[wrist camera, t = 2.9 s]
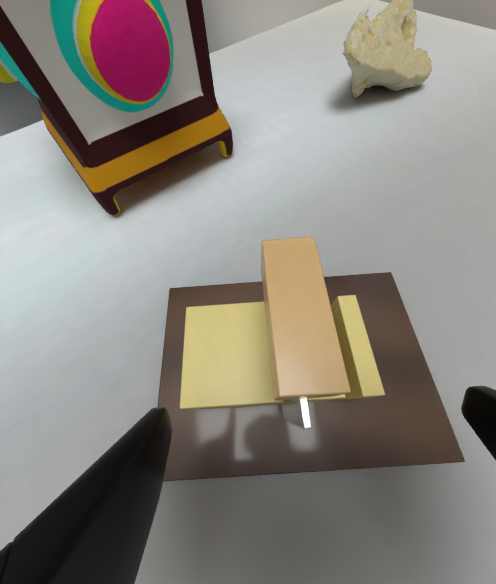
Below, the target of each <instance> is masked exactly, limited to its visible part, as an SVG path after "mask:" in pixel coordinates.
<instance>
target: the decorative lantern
mask: <svg viewBox="0 0 496 584" xmlns="http://www.w3.org/2000/svg"><path fill="white" fill-rule="evenodd" d="M208 51H209V50H208V43H207V37H206V29H205V23H204V14H203V7H202V1H201V0H0V82H4V83H11V82H14V81H17V80H19V81H20V82H21V83H22V84H23V85H24V86H25V87H26V88H27V89H28V90H29V91H30V92H31V93H33V94H34V95H35V96H36V97H37V99H38V102H39V104H40V108H41V111H42V116H43V119H44V122H45V125H46V127H47V129H48V131H49V132H50V134H51V135H52V137H53V138H54V140H55V141H56V143H57V144H58V145H59V147H60V148H61V150H62V151H63V153H64V154H65V156H66V157H67V158H68V160H69V161H70V163H71V164H72V166H73V167H74V169H75V170H76V171H77V173H78V174H79V176H80V177H81V179H82V180H83V182H84V183H85V184H86V186H87V187H88V189H89V190H90V192H91V193H92V195H93V196H94V197H95V199H96V200H97V201H98V202H99V204H100V205H101V206H102V207H103V208H104V209H105V210H106V211H107V212H108V213H109V214H111V215H114V216H116V215H119V213H120V208H119V206H118V204H117V202H116V200H115V196H114V195H115V194H116V193H117V192H118V191H119V190H121V189H123V188H125V187H127V186H129V185H131V184H133V183H135V182H137V181H139V180H141V179H143V178H145V177H147V176H149V175H151V174H153V173H155V172H157V171H159V170H161V169H163V168H165V167H167V166H169V165H171V164H173V163H175V162H177V161H179V160H181V159H183V158H185V157H187V156H189V155H191V154H193V153H195V152H197V151H199V150H201V149H203V148H205V147H207V146H209V145H211V144H213V143H215V142H218V145H219V149H220V152H221V154H222V155H223V156H224V157H229V156H230V155H231V154H232V150H233V140H232V131H231V128H230V126H229V124H228V122H227V120H226V118H225V117H224V115H223V113H222V112H221V110H220V108H219V107H218V104H217V102H216V98H215V93H214V86H213V79H212V72H211V65H210V58H209V52H208Z"/></svg>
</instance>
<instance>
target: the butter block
mask: <svg viewBox="0 0 496 584" xmlns="http://www.w3.org/2000/svg"><path fill="white" fill-rule="evenodd" d="M340 398H345V394H342V395H336V396H331V397H319V398H307V400H308V402H312V401H325V400H333V399H340ZM282 403H283V400H274V394H273V384H272V374H271V364H270V354H269V344H268V334H267V324H266V314H265V304H264V302H251V303H237V304H223V305H209V306H195V307H186V318H185V334H184V349H183V365H182V380H181V396H180V409H208V408H223V407H237V406H252V405H267V404H282Z"/></svg>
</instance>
